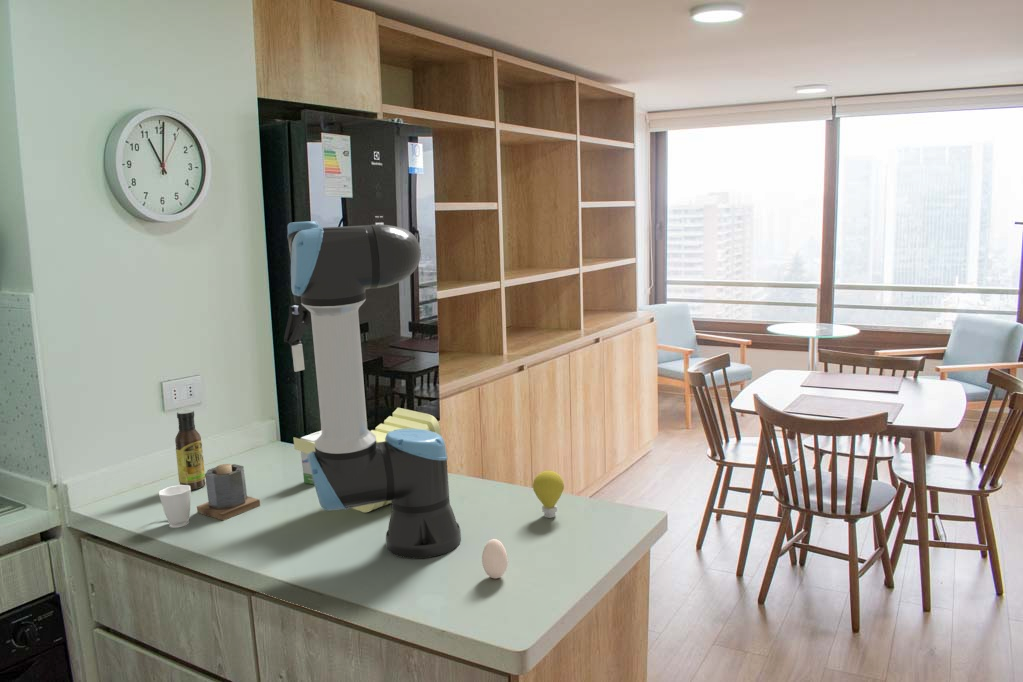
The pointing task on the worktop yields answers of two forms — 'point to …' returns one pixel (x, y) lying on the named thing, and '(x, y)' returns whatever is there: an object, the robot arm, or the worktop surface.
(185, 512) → the cup
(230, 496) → the grey hollow octagonal piece
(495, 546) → the egg
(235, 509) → the post
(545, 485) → the light bulb
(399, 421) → the slatted curved stool
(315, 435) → the ink box
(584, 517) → the worktop surface
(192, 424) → the sauce bottle
